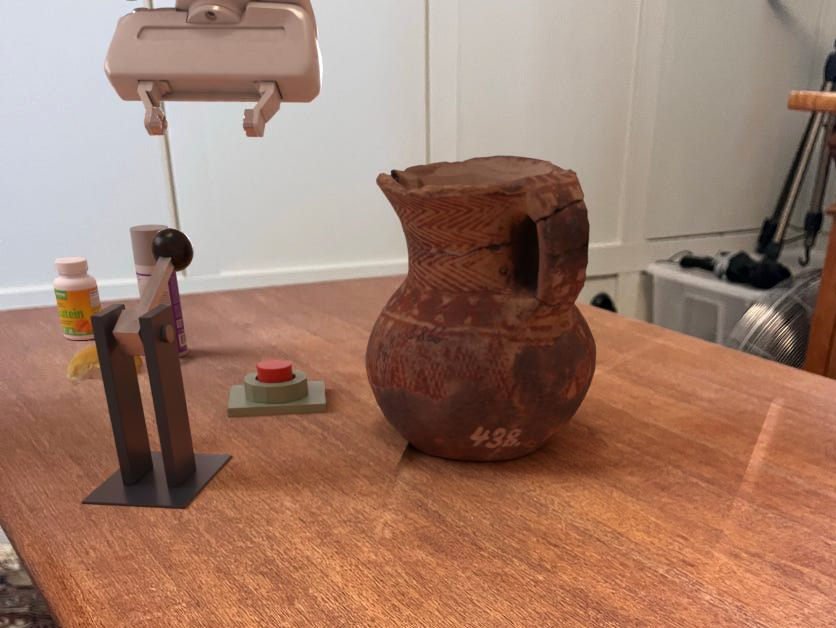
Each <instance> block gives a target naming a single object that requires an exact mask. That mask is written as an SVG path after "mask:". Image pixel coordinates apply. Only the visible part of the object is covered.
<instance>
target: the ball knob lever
mask: <svg viewBox="0 0 836 628" xmlns="http://www.w3.org/2000/svg"><path fill="white" fill-rule="evenodd" d="M151 253H152V256H153V259H154V260H155V262H156V266H155V268H154V270H153V272H152V274H151V277H150V279H149V281H148V283H147V285H146V287H145V290H144V292H143V294H142V296H141V298H140V297H139V301H138V303H137V305H136V307H135V309H126V310H122V312H121V314H120V316H119V319H118V321H117V323H116V325H115V327H114V329H113V331H112V332H113V335H114V337H115V339H116V342H117V344H118V346H119V349H120V351H121V353H122V355H128V356H140V357H145V353H144V347H143V341H142V336H141V330H140V324H139V317H140V316H142V315H144V314H145V313H147V312H149V311H150V310H152V309H154V308H155V307H157V306H158V304H159V301H160V299H161V297H162V294H163V292H164V290H165V288H166V285H167V283H168V281H169V279H170V276H171V274H172V272H176V273H177V272H181V271H184V270H186V269H187V268H188V267H189V266H190V265H191V263H192V262H193V259H194V255H195V251H194V246H193V242H192V241H191V239H190V238H189V236H188V235H187V234H186V233H185V232H184V231H182V230H181V229H178V228H175V227H168V228H165V229H162V230H160V231H159V232H157V233H156V234H155V236H154V237H153V239H152V242H151Z"/></svg>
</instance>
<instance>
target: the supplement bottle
mask: <svg viewBox="0 0 836 628" xmlns="http://www.w3.org/2000/svg"><path fill="white" fill-rule="evenodd" d="M53 263H54V269H55V272H56V273H57V274H58V276H57V277H56V278H54V280H53V282H52V283H53V284H52V285H53V292H54V295H55V300H56V301H55V302H56V305H57V310H58V315H59V319H60V325H61V329H62V334H63V337H64V338H65V339H68V340H71V341H89V340H95V339H94V334H93V329H92V324H91V318H90V316H92V315H93V314H95V313H97V312H99V311H101V310H103V309H102V304H101V298H100V292H99V288H98V282H97V279H96V278H95V277H94V276H92V274H88V271H89V264H88V260H87V258H85V257H83V256H67V257H60V258H55V260H54V261H53Z"/></svg>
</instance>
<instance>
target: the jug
mask: <svg viewBox="0 0 836 628" xmlns="http://www.w3.org/2000/svg"><path fill="white" fill-rule="evenodd" d="M577 175H578V174H577V172H576V171H575V170H573V169H571V168H569V169H564V168H562V167H560V166H558V165H556V164H553V163H552V162H551V161H550V160H544V159H540V158H534V157H527V156H519V155H501V154H500V155H499V154H497V155H491V156H481V157H471V158H468V159H465V160H462V161H460V160H459V161H452V162H450V161H447V160H445V161H438V162H431V163H427V164H418V165H413V166H409V167H406V168H405V169H404V170H400V169H399V170H398V169H391V170H390V174H387V173H385V172H381V173H379V174H378V175H377V177H376V179H375V182H376V185H377V186H378V188H379V189H380V190H381V192H382V194H383V195H384V196H385V198H386V200H387V201H388V203H389V204H390V205H391V207H392V208H393V210H394V213H395V214H396V216H397V217H398V220H399V222H400V224H401V228H402V232H403V234H404V239H405V242H406V243H405V244H406V249H407V264H408V265H407V267H408V268H407V276H406V277H405V279H404V280H403V281H402V282H401V284H400V285H399V287H397V289H396V290H395V291H394V292H393V293H392V295H391V296H390V297H389V299H388V300H387V302H386V303H385V305H384V306H383V307H382V310H381V311H380V313H379V314H378V316H377V317H376V320H375V322H374V324H373V326H372V329H371V331H370V334H369V337H368V341H367V345H366V350H365V355H364V356H365V357H364V358H365V359H364V362H365V365H364V366H365V371H366V377H367V381H368V384H369V387H370V389H371V391H372V394H373V397H374V398H375V402H376V403H377V405H378V407H379V409H380V411H381V413H382V414H383V416H384V418H385V419H386V420H387V422H389V424H390V425H391V426H392V428H394V429H395V430H396V431H397V432H398V433H399V434H400V435H401V436H402V437H403V438H404V439H405V440H407V442H408V443H409V444H410V445H411V446H412V447H413V448H414V449H415V450H418V451H419V452H420V453H424V454H426V455H431V456H435V457H440V458H443V459H450V460H456V461H466V462H478V463H479V462H482V463H484V462H485V463H489V462H490V463H491V462H500V461H509V460H514V459H518V458H521V457H525V456H527V455H530V454H531V453H533V452H536V451H537V450H539V448H541V447H542V446H544V445H545V444H546V443H548V442H549V441H550V440H551V439H553V438H554V437H555V436H556V435H557V434H558V433H559V432H560V431H561V430H562V429H563V428H564V427H566V425H568V423H569V422H570V421H571V420H572V418H574V416H575V415H576V413H577V411H578V410H580V409H579V408H580V407H581V406H582V404H583V401H584V400H585V398H586V396H587V394H588V392H589V389H590V387H591V386H592V385H591V384H592V382H593V379H594V376H595V372H596V365H597V344H596V341H595V337H594V335H593V334H592V333H593V332H592V331H591V328H590V326H589V323H588V322H587V320H586V318H585V317H584V315H583V314H582V312H581V310H580V309H579V307H578V306H577V305H576V304H575V303H576V301H577V300H578V298H579V296H580V294H581V292H582V290H583V289H584V287H585V283H586V280H587V268H588V265H589V248H590V247H589V244H590V231H591V230H590V228H591V225H590V220H589V210H588V208H587V205H586V202H585V200H584V199H585V194H584V190H583V188H582V185H581V182H580V179H579V178H578V176H577Z"/></svg>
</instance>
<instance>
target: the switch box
mask: <svg viewBox="0 0 836 628" xmlns="http://www.w3.org/2000/svg"><path fill="white" fill-rule="evenodd" d="M292 373H293V379H292V380H291V381H287V382H282V383H262V382H259V381H258V374H257V370H256V371H255V370H254V371H252V372H250V373H248V374H246V375H244V376H243V384H230V389H229V393H228V394H229V395H228V400H227V405H226V406H227V407H226V412H227V418H240V417H243V418H244V417H262V416H279V415H280V416H281V415H282V416H283V415H297V414H298V415H300V414H301V415H303V414H318V413H319V414H320V413H321V414H322V413H327V412H328V410H327V399H326V389H325V387H326V386H325V381H324V380H309V381H308V374H307V372H304V371H302V370H300V369H294V368H292Z"/></svg>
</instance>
